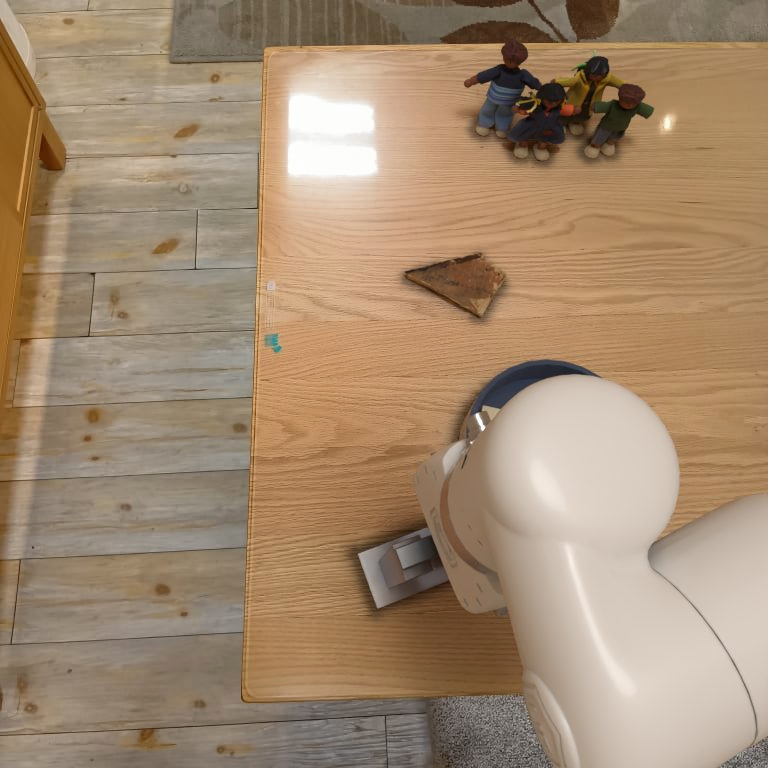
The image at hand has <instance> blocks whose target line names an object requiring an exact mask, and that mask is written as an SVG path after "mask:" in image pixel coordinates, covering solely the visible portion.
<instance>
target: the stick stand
mask: <svg viewBox="0 0 768 768" xmlns="http://www.w3.org/2000/svg"><path fill="white" fill-rule="evenodd" d="M430 535H431V532H430V530H429V527H428V526H425V527H422V528H419V529H417V530H415V531H412V532H410V533H407V534H405V535H402V536H399V537H397V538H393V539H392V540H389V541H387V542H383V543H381V544H378V545H376V546H373V547H371V548H368V549H366V550H363V551H360V552H357V554H356V556H357V559H358V562H359V565H360V567H361V570H362V573H363V576H364V578H365V580H366V584H367V587H368V589H369V592H370V595H371V598H372V601H373V604H374V606H375V609H376V610H380V609H382V608H385V607H387V606H389V605H393V604H395V603H397V602H399V601H402V600H405V599H407V598H409V597H412V596H415V595H417V594H419V593H422V592H425V591H427V590H429V589H431V588H434V587H437V586H439V585H442V584H445V583H447V582H450V580H449V578H448V575H447V573H446V570H445V568H444V565H443V563H442V560H441V558H440V556H438V557H435V558H433V559H430V560H428V561H425V562H422V563H420V564H417V565H415V566H412V567H410V568H407V569H405V570H402V571H401V570H400V567H399V565H398V562H397V559H396V557H395V554H394V550H395V549H396V548H399V547H401V546H404V545H406V544H409V543H412V542H414V541H417V540H419V539H422V538H424V537H427V536H430Z"/></svg>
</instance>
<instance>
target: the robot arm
mask: <svg viewBox="0 0 768 768" xmlns="http://www.w3.org/2000/svg"><path fill="white" fill-rule="evenodd" d="M465 423H466V425H467V428H468V430H469V432H468V436H469V438H468V439H463V440H460V441H458V440H457V441H454V442H451V443H449V444H447V445H446V446H444V447H442V448H440V449H438V450H437V451H434V452H431V453H430V456H429V457H427V458H425V460H423V461H422V462H421V463H420V464H419V465H418V466H417V468H416V469H415V472H414V474H413V478H412V481H413V482H412V483H413V489H414V491H415V495H416V498H417V500H418V503H419V506H420V509H421V511H422V514H423V517H424V519H425V522H426V525H427V527H429V530H430V532H431V535H432V537H433V540H434V543H435V545H436V548H437V550H438V553H439V555H440V558H441V560H442V563H443V565H444V568H445V570H446V573H447V575H448V578H449V583H450V585H451V588H452V591H453V592H454V595H455V597H456V598H457V600H458V602H459V604H460V606H461V607H462V608H463V609H465V610H466V612H467V611H468V612H469V613H472V614H483V613H486V612H491V611H492V612H493V614H494V617H496V618H499V617H503V616H504V615H507V614H508V617H509V620H510V624H511V628H512V632H513V636H514V640H515V644H516V648H517V651H518V657H519V659H520V663H521V666H522V670H523V672H522V674H521V686H522V687H521V689H522V695H523V699H524V700H523V701H524V703H525V707H526V711H527V714H528V718H529V720H530V722H531V725H532V728H533V730H534V733H535V735H536V737H537V739H538V741H539V743H540V745H541V747H542V749H543V752H544V753H545V755H546V756H547V759H548V760H549V761H550V764H551V765H552V766H553V767H554V768H718V767H720V766H721V765H723V764H725V763H726V762H727V761H729V760H730V759H732V758H734V757H735V756H737V755H739V754H740V753H742V752H743V751H744V750H747V749H748V748H750V747H753V746H754V745H756V744H758V743H759V742H761V741H762V740H764V739H765V738H767V737H768V492H763V493H762V492H761V493H753V494H748V495H744V496H741V497H737V498H734V499H732V500H730V501H728V502H726V503H724V504H722V505H720V506H717V507H716V508H714V509H712V510H710V511H708V512H706V513H704V514H702V515H701V516H699V517H696V518H695V519H693V520H691V521H689V522H688V523H686V524H684V525H682V526H681V527H679V528H676V529H675V530H673V531H671V532H670V533H668V534H665V535H664V536H663V537H661V538H659V537H660V536H661V534H662V533H663V532H664V531H665V529H666V528H667V526H668V525H669V522H670V520H671V518H672V516H673V514H674V512H675V509H676V506H677V504H678V503H677V502H678V497H679V493H680V488H681V487H680V485H681V482H680V481H681V470H680V462H679V457H678V453H677V450H676V446H675V444H674V440H673V439H672V437H671V435H670V432H669V430H668V428H667V426H666V425H665V424H664V422H663V421H662V419H661V418H660V417H659V415H658V413H657V412H656V411H655V410H654V409H653V408H652V407H651V406H650V405H649V404H648V403H647V402H646V401H645V400H644V399H642V398H641V397H640V396H639V395H638V394H636V393H635V392H634V391H632V390H630V389H628V388H627V387H625V386H623V385H621V384H619V383H617V382H615V381H612V380H609V379H607V378H603V377H602V378H599V377H595V376H589V375H578V374H571V375H559V376H555V377H551V378H547V379H544V380H541V381H538V382H536V383H534V384H532V385H530V386H528V387H526V388H525V389H523V390H522V391H520V392H519V393H518V394H516V395H515V396H514V397H513V398H512V399H510V400H509V401H508V402H507V403H506V404H505V405H504V406H503V407H502V408H501V410H500V411H499V412H498V413H497V414H496V415H495V417H494V418H493V419H492V420H490V417H489V415H488V413H487V411H482V412H479V413H476V414H474V415H472V416H470V417H468V418H466V419H465Z"/></svg>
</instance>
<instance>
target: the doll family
mask: <svg viewBox="0 0 768 768" xmlns="http://www.w3.org/2000/svg"><path fill="white" fill-rule="evenodd" d="M597 52H598V51H597V50H596V49H595V50H593V53H592V56H591V57H590V58H588V59H587V61H585V62H583V63H579V64H577V65H575V66H574V67H572V68H571V69H570V71H571V72H574V71H575V70H576V72H575V74H573V76H572V77H556V78H553V79H551V80H550V82H545V83H544V84H542V82H541V81H540V79H539V78H538V77H535V76H534V74H532V73H531V72H530V71H529V70H528V69H526V68H521V67H519V66H521V64H523V63H524V62H526V61H527V60H528V57H529V51H528V48H527V47H526V45H525V44H524V43H522V42H521V41H518V40H517V39H510V40H508V41H506V42H505V43H504V45H502V47H501V49H500V53H501V55H502V61H503V63H499V64H497V65H495V66H493V67H490V68H487V69H485V70H482V71H480V72H477V74H474V75H473V76H471V77H470V78H467V79H465V80H464V82H463V87H465V89H466V88H467V89H469V88H471V87H472V86H476V85H478V84H480V85H484V84H487V83H489V87H488V89H487V92H486V94H485V95H486V99H485V101H484V102H483V103H482V106H481V108H480V110H479V112H478V120H477V123H476V126H475V133H476V134H477V135H479V136H483V137H485V136H488V135H489V134H490V131H491V128H492V127H493V126H494V128H495V135H496V137H498V138H502V139H503V138H504V139H505V138H507V139H508V140H509V141H511V142H512V143H514V144H515V145H514V148H513V155H514V157H516V158H518V159H526V158H527V157H528V156H529V147H528V143H529V141H530V140H533V141H538V143H535V144H534V145H533V146H532V150H533V154H534V156H535V158H536V159H537V160H538V161H541V162H543V161H548V159H549V158H550V152H549V151H548V149H547V148H546V147H547V145H548V144H551V145H554V146H556V145H561V144H563V143H564V142H565V141H566V133H567V129H568V130H569V132H570V134H571V135H573V136H580V135H582V134H583V133H584V127H583V125H582V123H583V122H587V121H589V120H591V118H592V114H596V115H598V114H604V115H603V116H602V117H601V118H600V120H599V122H598V123H597V125H596V126H595V128H594V131H593V134H592V136H591V138H590V143H589V144H588V145H587V146H586V147H585V148H584V149H583V151H584V152H583V154H584V155H585V156H586V157H587V158H590V159H596V158H597V157H598V156H599V154H600V152H601V154H603V155H605V156H607V157H611V156H613V155H615V152H616V150H615V149H616V147H615V143H616V142H618V141H620V140H621V139H622V138H624V137H625V134H626V130H627V129H628V128H629V126H630V123H631V121H632V119H633V118H634V117H635V116H636V115H637V116H640V117H642V118H644V119H645V120H648V119H649V118H650V117H651V116H653V114H654V111H655V107H654V106H652V105H650V104H648V103H646V102H644V101H643V100H645V98H646V96H647V94H646V91H645V90H644V89H643V88H642V87H640V85H638V84H633V83H627V81H626V80H624V79H621V78H619V77H617V76H616V75H614V74H613V73H610V71H611V69H610V63H609V59H608V58H607V57H605V56H602V55H597V54H598V53H597ZM526 86H527V87H528V88H529V89H530V90H535V91H537V92H536V93H534V91H528V92H527V93H528V95H529V96H525V95H524V96H523V95H522V94H523V93H524V91H525V88H526ZM607 87H611V88H615V89H617V90H618V92H617V97H618V99H615V98H613V99H611V100H609V101H604V100H603V95H604V92H605V89H606V88H607ZM565 88H568V89H567V91H566V89H565ZM517 114H519V115H520V116H525V117H523V118H521V119H519V120H518V121H517V122H516V123H515V124H514V125H513V127H512V128H511V125H512V123H513V121H514V118H515V115H517ZM566 125H568V128H567V126H566ZM510 128H511V129H510Z"/></svg>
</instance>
